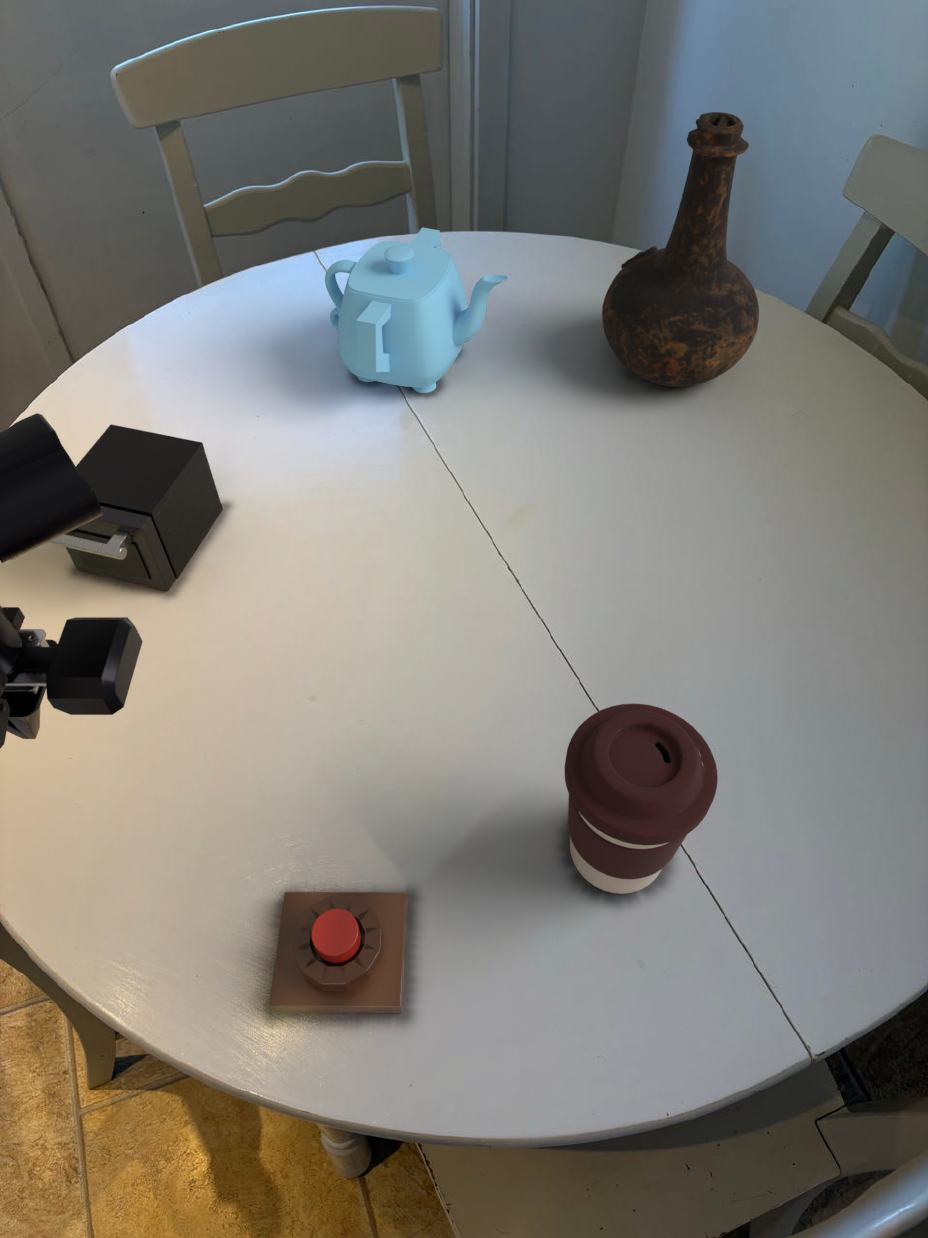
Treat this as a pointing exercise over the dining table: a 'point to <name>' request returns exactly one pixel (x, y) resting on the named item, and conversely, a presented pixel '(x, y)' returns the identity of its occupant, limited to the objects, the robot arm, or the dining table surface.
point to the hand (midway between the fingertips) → (32, 733)
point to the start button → (336, 935)
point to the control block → (351, 984)
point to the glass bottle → (688, 278)
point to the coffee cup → (634, 793)
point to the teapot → (405, 312)
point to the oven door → (120, 549)
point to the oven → (156, 485)
